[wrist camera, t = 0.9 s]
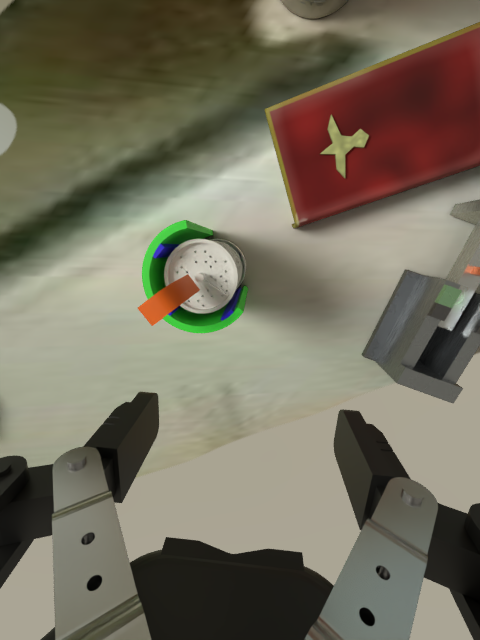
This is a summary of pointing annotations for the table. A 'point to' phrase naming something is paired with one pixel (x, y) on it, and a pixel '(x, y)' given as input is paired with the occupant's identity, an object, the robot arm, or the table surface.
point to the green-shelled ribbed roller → (193, 279)
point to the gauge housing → (425, 336)
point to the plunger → (465, 263)
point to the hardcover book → (381, 128)
